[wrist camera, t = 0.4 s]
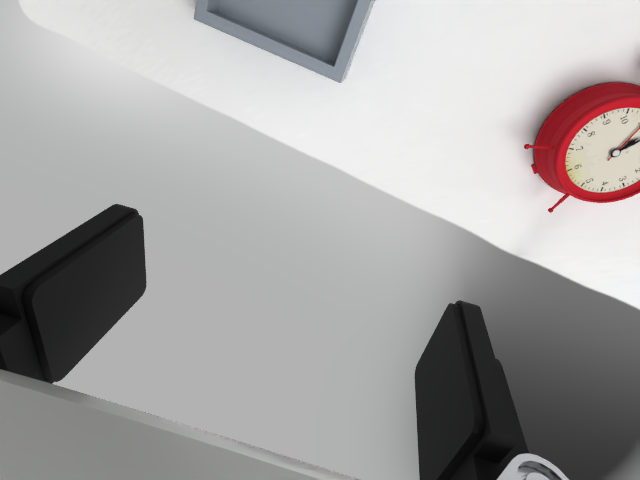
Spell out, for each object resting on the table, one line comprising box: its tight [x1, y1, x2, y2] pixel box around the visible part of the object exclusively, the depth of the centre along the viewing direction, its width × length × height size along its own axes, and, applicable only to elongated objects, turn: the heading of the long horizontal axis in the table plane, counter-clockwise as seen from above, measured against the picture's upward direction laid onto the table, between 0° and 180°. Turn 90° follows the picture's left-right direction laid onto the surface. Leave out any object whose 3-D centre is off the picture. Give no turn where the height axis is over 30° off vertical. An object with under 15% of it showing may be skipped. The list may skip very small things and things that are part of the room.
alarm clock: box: [524, 83, 640, 213], centre depth 32 cm, size 10×6×15 cm
